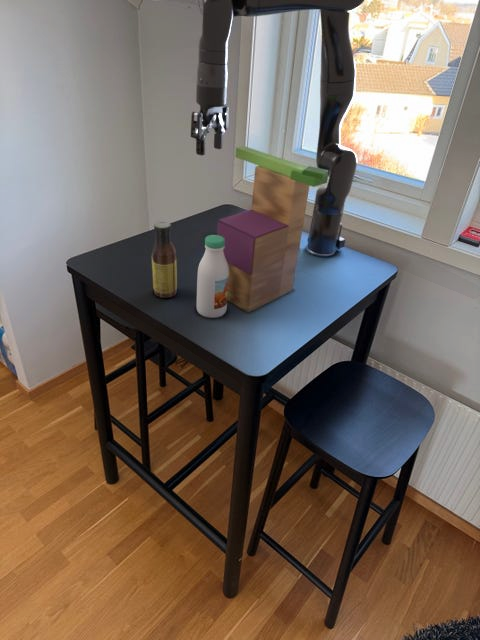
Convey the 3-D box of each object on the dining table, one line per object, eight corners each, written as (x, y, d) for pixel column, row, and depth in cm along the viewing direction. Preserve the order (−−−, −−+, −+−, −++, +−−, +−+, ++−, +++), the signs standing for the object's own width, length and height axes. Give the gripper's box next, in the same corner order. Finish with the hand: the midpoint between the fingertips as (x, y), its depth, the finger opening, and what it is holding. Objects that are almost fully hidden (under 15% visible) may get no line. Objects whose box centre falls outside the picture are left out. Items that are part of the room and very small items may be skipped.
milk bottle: (202, 321, 115) (205, 247, 104) (192, 304, 121) (193, 233, 110) (231, 315, 118) (236, 243, 107) (220, 300, 124) (224, 229, 113)
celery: (232, 157, 121) (233, 146, 120) (247, 154, 125) (248, 143, 123) (315, 187, 106) (317, 175, 105) (330, 183, 110) (332, 171, 108)
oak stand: (213, 292, 127) (220, 174, 109) (258, 272, 138) (271, 162, 120) (248, 312, 120) (260, 190, 102) (292, 290, 131) (311, 176, 113)
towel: (215, 256, 121) (217, 219, 115) (248, 244, 128) (251, 209, 122) (250, 275, 114) (254, 237, 108) (282, 261, 121) (287, 225, 116)
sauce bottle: (164, 284, 128) (163, 216, 117) (182, 292, 125) (182, 223, 114) (147, 293, 124) (144, 223, 113) (165, 302, 121) (163, 231, 110)
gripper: (209, 88, 108) (206, 160, 117) (239, 83, 118) (235, 149, 127) (182, 83, 110) (182, 154, 120) (214, 78, 121) (211, 143, 130)
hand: (209, 151), depth 123 cm, fingers open, 8 cm apart
